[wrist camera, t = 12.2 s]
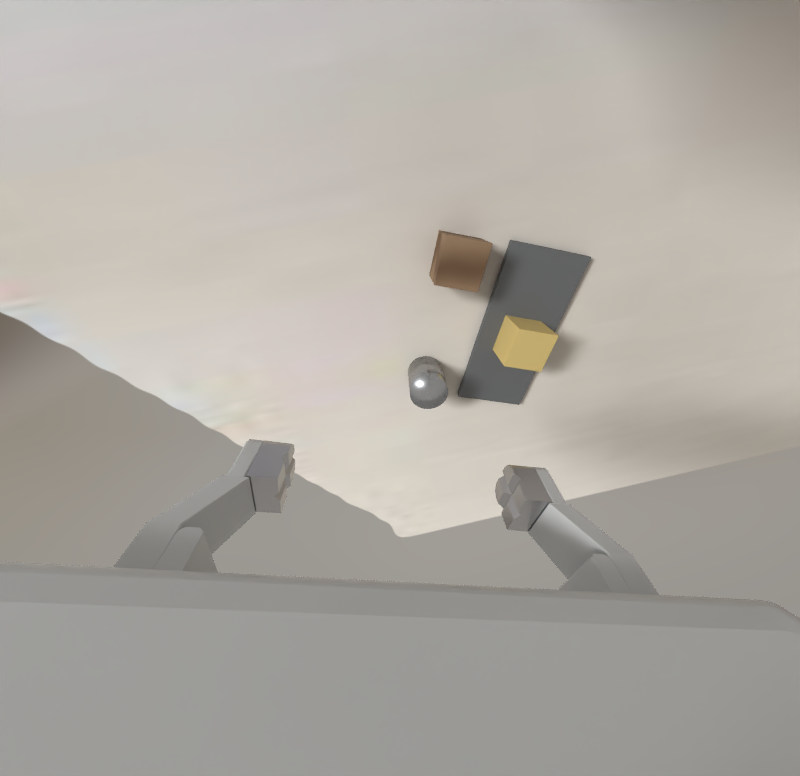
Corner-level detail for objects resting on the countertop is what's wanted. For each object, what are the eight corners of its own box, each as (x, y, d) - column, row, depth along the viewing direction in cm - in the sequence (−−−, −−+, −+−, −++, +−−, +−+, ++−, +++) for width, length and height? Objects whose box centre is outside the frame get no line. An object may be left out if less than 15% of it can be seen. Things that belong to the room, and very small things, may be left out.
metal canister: (411, 353, 42) (414, 374, 37) (445, 359, 43) (452, 380, 38) (405, 383, 45) (406, 406, 40) (436, 387, 45) (442, 410, 40)
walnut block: (439, 230, 34) (445, 234, 30) (480, 238, 34) (492, 243, 30) (429, 275, 36) (434, 284, 32) (467, 281, 37) (477, 292, 33)
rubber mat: (510, 239, 34) (512, 240, 34) (587, 256, 36) (591, 257, 35) (457, 393, 46) (458, 396, 45) (517, 401, 47) (519, 404, 47)
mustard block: (505, 315, 39) (519, 329, 34) (540, 321, 39) (558, 335, 35) (492, 349, 41) (504, 366, 37) (525, 354, 42) (540, 371, 38)
